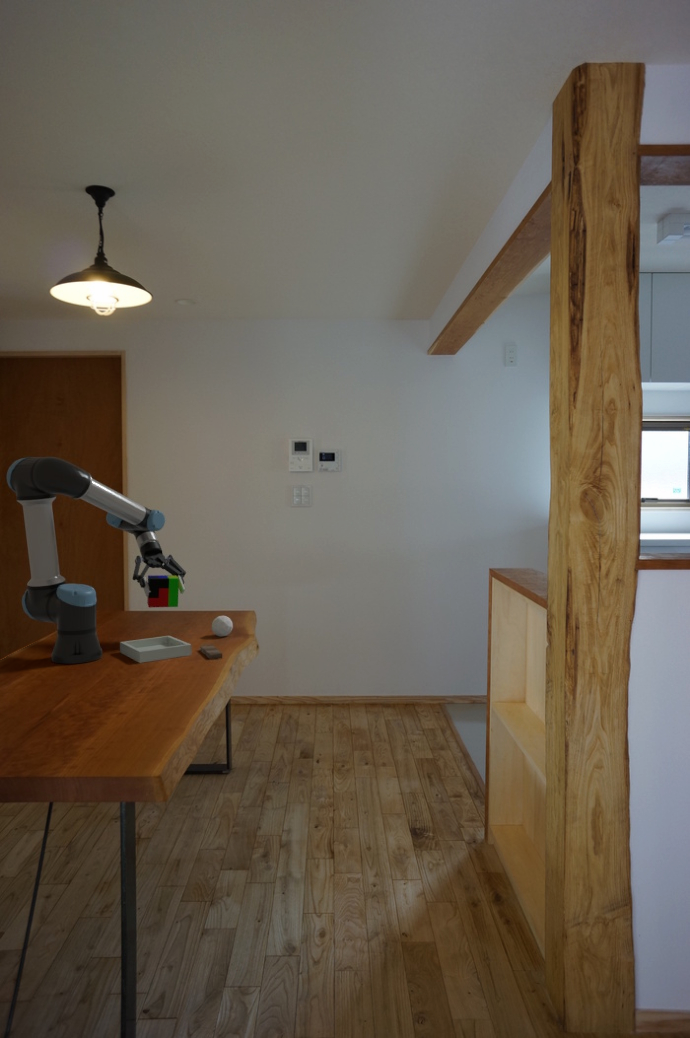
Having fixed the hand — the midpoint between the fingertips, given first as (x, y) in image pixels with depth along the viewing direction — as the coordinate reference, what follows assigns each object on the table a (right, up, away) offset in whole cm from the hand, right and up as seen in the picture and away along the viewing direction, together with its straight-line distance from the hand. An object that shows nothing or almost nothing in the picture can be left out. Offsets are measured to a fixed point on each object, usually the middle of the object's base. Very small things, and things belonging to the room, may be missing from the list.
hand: (166, 592), depth 239 cm
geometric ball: (+18, -18, +11) cm, 28 cm away
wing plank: (+20, -19, -17) cm, 32 cm away
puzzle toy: (-2, -5, +2) cm, 5 cm away
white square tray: (+1, -18, -17) cm, 25 cm away
